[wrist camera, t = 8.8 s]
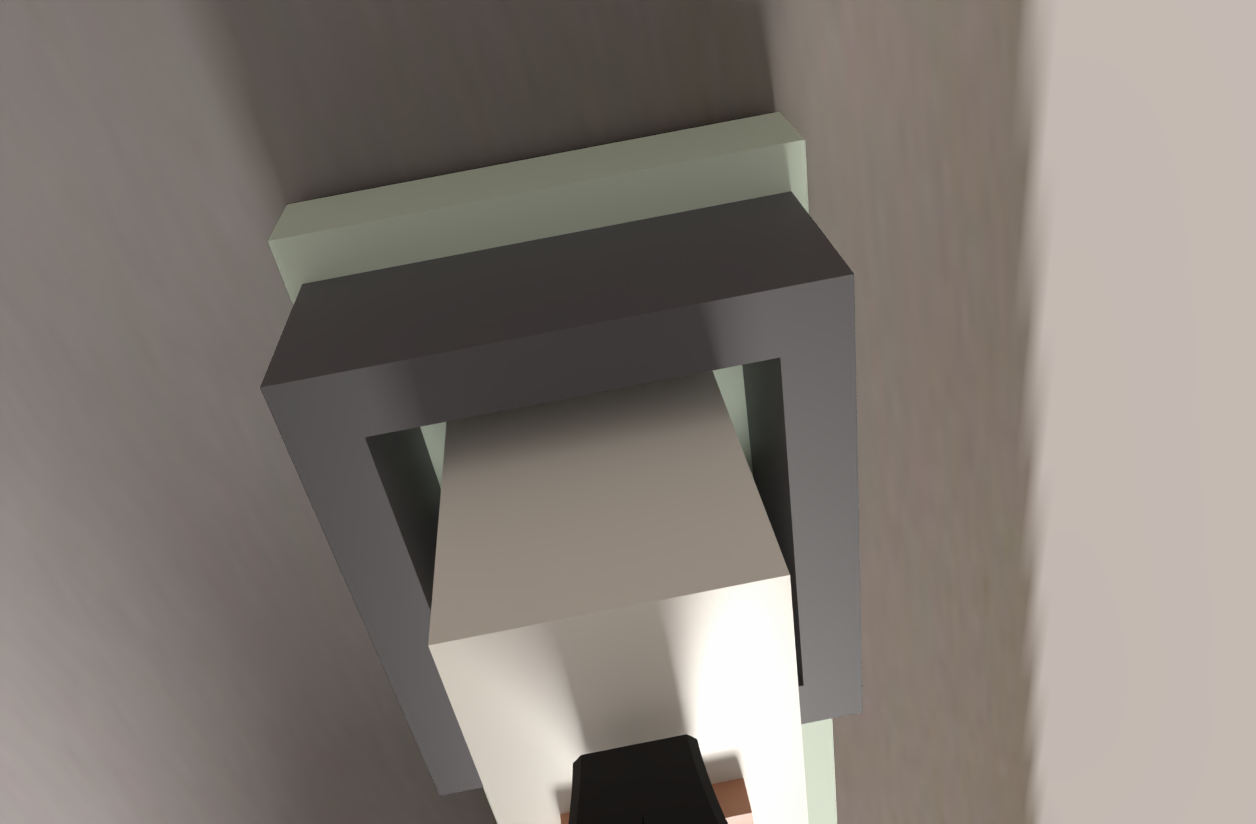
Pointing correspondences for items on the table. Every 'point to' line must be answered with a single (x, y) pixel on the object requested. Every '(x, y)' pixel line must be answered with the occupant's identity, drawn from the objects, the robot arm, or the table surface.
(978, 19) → the table surface
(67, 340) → the table surface
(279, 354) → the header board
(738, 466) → the plug
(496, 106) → the table surface
